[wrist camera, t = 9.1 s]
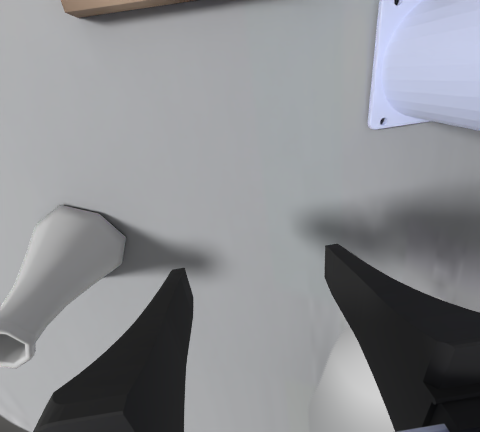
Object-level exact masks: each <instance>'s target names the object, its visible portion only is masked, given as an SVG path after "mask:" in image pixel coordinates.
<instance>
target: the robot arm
mask: <svg viewBox="0 0 480 432" xmlns="http://www.w3.org/2000/svg"><path fill="white" fill-rule="evenodd" d="M382 118H384V122H383V123H382V124H380V121H381V119H382ZM428 121H435V122H440V123H444V124H449V125H454V126H459V127H464V128H469V129H474V130H478V131H480V0H399V3H398V5H397V6H396V5H395V4H394V0H380V2H379V10H378V20H377V31H376V41H375V52H374V62H373V73H372V83H371V93H370V104H369V114H368V126H369V128H371V129H375V130H376V129H383V128H389V127H396V126H402V125H409V124H415V123H422V122H428ZM325 279H326V281H327V284H328V286H329V289H330V291H331V294H332V296H333V297H334V299H335V301H336V303H337V304H338V306H339V308H340V310H341V311H342V313H343V315H344V317H345V318H346V320H347V322H348V324H349V325H350V327H351V329H352V330H353V332H354V334H355V336H356V338H357V340H358V342H359V344H360V346H361V349H362V351H363V353H364V355H365V358H366V360H367V362H368V364H369V367H370V369H371V371H372V374H373V376H374V378H375V381H376V383H377V386H378V388H379V390H380V393H381V396H382V398H383V401H384V403H385V406H386V408H387V411H388V413H389V416H390V419H391V421H392V424H393V427H394V429H395V432H480V313H479V312H475V311H472V310H469V309H466V308H463V307H460V306H457V305H453V304H451V303H448V302H445V301H442V300H440V299H437V298H434V297H432V296H430V295H427V294H425V293H422V292H420V291H418V290H415V289H413V288H411V287H409V286H407V285H405V284H403V283H401V282H398V281H397V280H395V279H393V278H391V277H389V276H387V275H386V274H384V273H382V272H380V271H379V270H377V269H375V268H374V267H372V266H370V265H369V264H367V263H366V262H364V261H362V260H361V259H359V258H358V257H356V256H355V255H353V254H352V253H350V252H349V251H348V250H346V249H345V248H343V247H342V246H340V245H338V244H333V245H327V246H325ZM192 320H193V295H192V291H191V288H190V285H189V281H188V278H187V275H186V271H185V268H180V269H174V270H172V271H171V272H170V274H169V275H168V277H167V279H166V280H165V282H164V283H163V285H162V286H161V288H160V289H159V291H158V292H157V294H156V295H155V296H154V298H153V299H152V301H151V302H150V303H149V305H148V306H147V307H146V309H145V310H144V311H143V313H142V314H141V315H140V316H139V318H138V319H137V320H136V321H135V322H134V324H133V325H132V326H131V327H130V328H129V329H128V330H127V331H126V332H125V333H124V334H123V335H122V336H121V337H120V338H119V339H118V340H117V341H116V342H115V343H114V344H113V345H112V346H111V347H110V348H109V349H108V350H107V351H106V352H105V353H104V354H102V355H101V356H100V357H99V358H98V359H97V360H96V361H94V362H93V363H92V364H91V365H89V366H88V367H87V368H86V369H85V370H83V371H82V372H81V373H80V374H78V375H77V376H76V377H74V378H73V379H72V380H70V381H69V382H67V383H66V384H65V385H63V386H62V387H61V388H59V389H58V390H57V391H55V392H54V393H53V395H52V396H51V398H50V400H49V402H48V403H47V405H46V407H45V409H44V411H43V413H42V415H41V417H40V419H39V421H38V423H37V425H36V427H35V429H34V431H33V432H184V400H185V376H186V363H187V355H188V348H189V341H190V334H191V327H192Z"/></svg>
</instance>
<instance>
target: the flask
mask: <svg viewBox="0 0 480 432" xmlns="http://www.w3.org/2000/svg"><path fill="white" fill-rule="evenodd" d="M125 241H126V237H125V236H124V235H123V234H122V233H121V232H119V231H118V230H117V229H116V228H115V227H114V226H113V225H111V224H110V223H109V222H108V221H107V220H106V219H105V218H104V217H102V216H101V215H100V214H99V213H94V212H90V211H85V210H81V209H76V208H72V207H67V206H63V205H59V206H58V207H57V208H56V209H54V210H53V211H52V212H51V213H49V214H48V215H47V216H46V217H45V218H43V219H42V220H41V221H40V222H38V223H37V224H36V226H35V228H34V231H33V234H32V237H31V240H30V243H29V246H28V249H27V253H26V256H25V258H24V261H23V263H22V266H21V269H20V271H19V274H18V276H17V279H16V281H15V284H14V286H13V288H12V289H11V291H10V293H9V294H8V296H7V297H6V299H5V300H4V302H3V304H2V305H1V307H0V367H6V368H16V369H17V368H18V367H20V366H21V365H23V364H24V363H26V362H27V361H29V360H30V359H31V358H32V357H33V356H34V354H35V351H36V350H35V343H36V341H37V340H38V338H39V337H40V335H41V334H42V332H43V331H44V330H45V328H46V327H47V325H48V324H49V323H50V322H51V321H52V320H53V319H54V318H55V317H56V316H57V315H58V314H59V313H60V312H61V311H62V310H63V309H64V308H65V307H66V306H67V305H68V304H69V303H70V302H72V301H73V300H74V299H76V298H77V297H78V296H79V295H81V294H82V293H83V292H85V291H86V290H87V289H88V288H90V287H91V286H92V285H93V284H95V283H96V282H98V281H99V280H100V279H102V278H103V277H105V276H106V275H107V274H109V273H110V272H112V271H113V270H114V269H116V268H117V267H118V266H120V265H121V264H122V261H123V254H124V248H125Z"/></svg>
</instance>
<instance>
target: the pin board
mask: <svg viewBox="0 0 480 432" xmlns="http://www.w3.org/2000/svg"><path fill="white" fill-rule="evenodd" d="M189 1H196V0H61V2H62V5H63V8H64V11H65V13H68V14H70V15H72V16H75V17H77V18H81V17H88V16H94V15H101V14H108V13H115V12H121V11H128V10H135V9H142V8H149V7H155V6H162V5H169V4H176V3H182V2H189Z"/></svg>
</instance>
